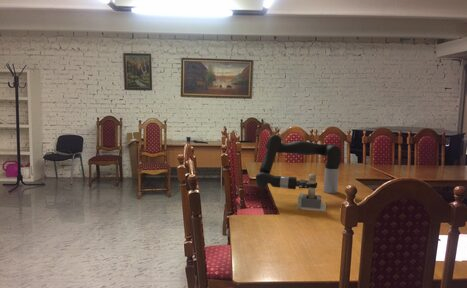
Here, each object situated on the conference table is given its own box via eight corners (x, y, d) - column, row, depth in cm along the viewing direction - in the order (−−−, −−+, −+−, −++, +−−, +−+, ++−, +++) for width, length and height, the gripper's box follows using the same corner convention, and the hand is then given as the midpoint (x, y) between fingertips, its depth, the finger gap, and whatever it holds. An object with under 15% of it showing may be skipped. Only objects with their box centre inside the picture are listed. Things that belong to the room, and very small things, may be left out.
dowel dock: (299, 202, 229) (300, 193, 228) (326, 204, 224) (326, 195, 224) (297, 208, 215) (298, 199, 215) (325, 211, 211) (325, 201, 210)
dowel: (308, 199, 222) (309, 173, 220) (314, 199, 221) (316, 173, 219) (307, 200, 218) (309, 174, 216) (314, 201, 217) (315, 175, 215)
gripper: (286, 179, 215) (316, 181, 210) (290, 174, 228) (318, 176, 224) (286, 191, 216) (315, 194, 211) (289, 185, 229) (317, 188, 225)
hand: (316, 185), depth 218 cm, fingers closed on dowel, 4 cm apart
